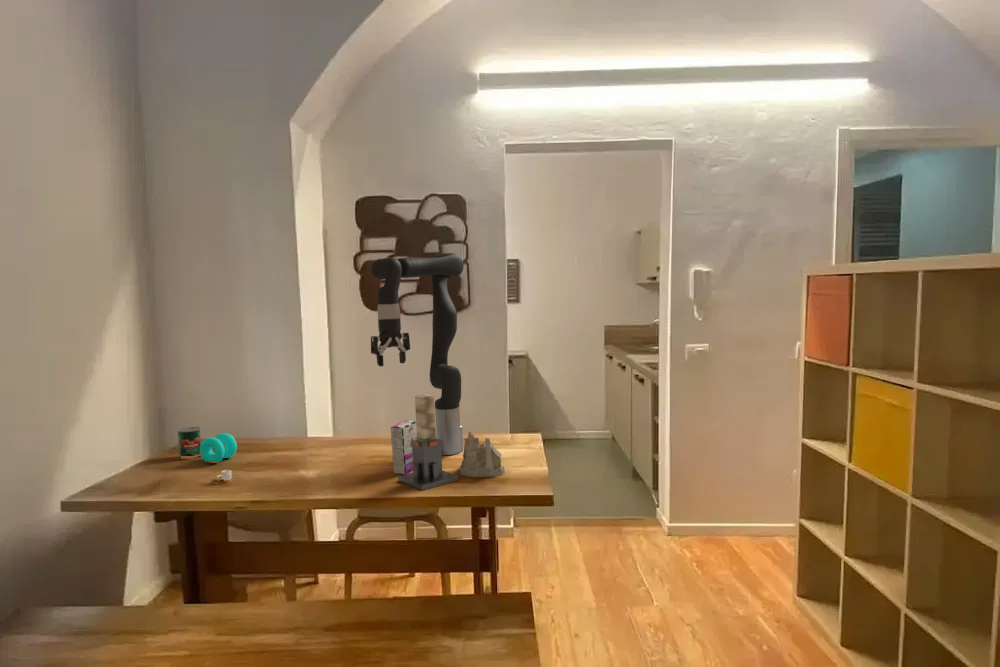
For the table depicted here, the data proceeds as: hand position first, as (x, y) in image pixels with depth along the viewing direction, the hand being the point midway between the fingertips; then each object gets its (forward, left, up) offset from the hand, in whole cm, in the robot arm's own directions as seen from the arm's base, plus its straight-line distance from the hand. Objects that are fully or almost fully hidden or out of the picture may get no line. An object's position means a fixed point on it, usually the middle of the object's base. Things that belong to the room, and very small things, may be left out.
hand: (391, 364), depth 223 cm
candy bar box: (-3, +1, -37) cm, 37 cm away
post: (-1, +17, -29) cm, 34 cm away
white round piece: (+44, -34, -38) cm, 67 cm away
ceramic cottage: (-21, +22, -37) cm, 48 cm away
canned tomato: (+46, -77, -37) cm, 97 cm away
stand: (-1, +17, -37) cm, 41 cm away
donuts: (+40, -62, -37) cm, 82 cm away
